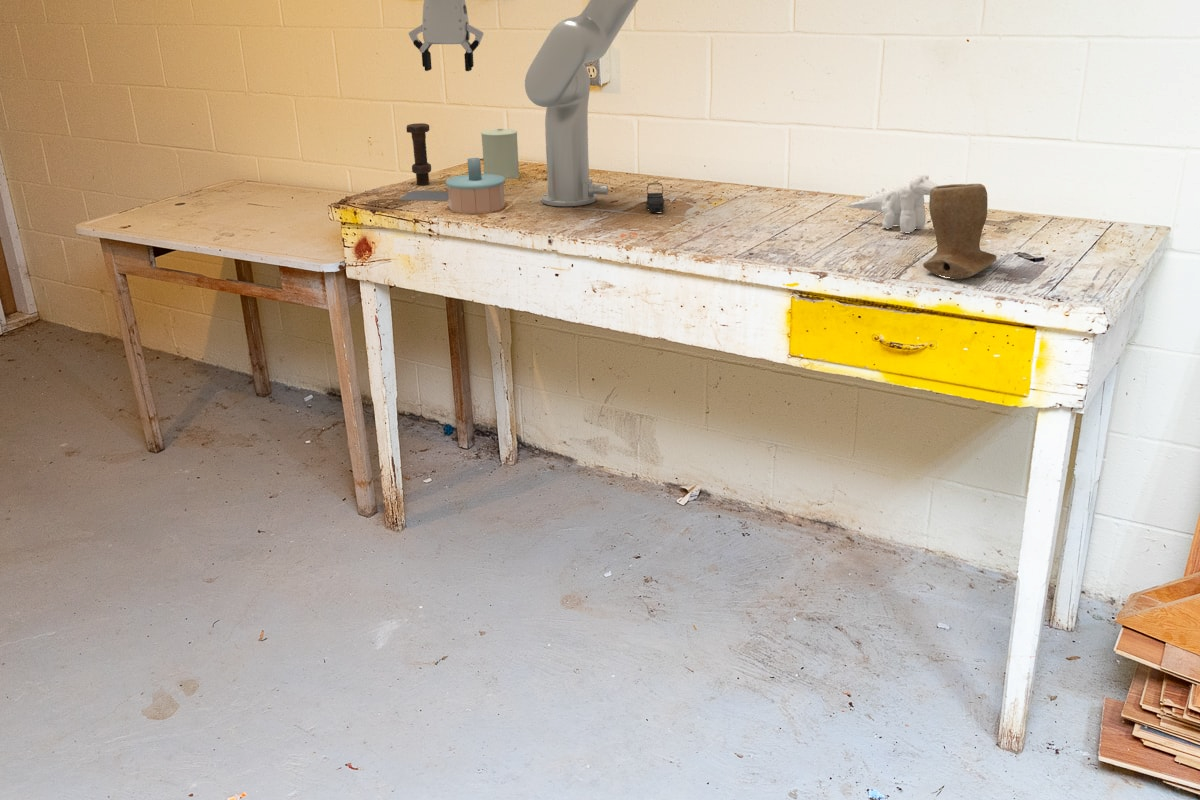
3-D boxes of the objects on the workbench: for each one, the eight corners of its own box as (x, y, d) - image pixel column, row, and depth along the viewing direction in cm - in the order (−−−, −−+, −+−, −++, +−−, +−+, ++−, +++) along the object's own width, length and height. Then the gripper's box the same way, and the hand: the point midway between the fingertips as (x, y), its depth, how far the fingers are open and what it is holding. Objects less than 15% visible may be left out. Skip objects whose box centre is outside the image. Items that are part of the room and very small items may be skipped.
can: (520, 173, 272) (517, 126, 268) (519, 180, 264) (517, 132, 259) (484, 174, 272) (481, 127, 267) (483, 181, 263) (479, 133, 259)
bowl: (509, 204, 239) (508, 177, 237) (495, 216, 228) (494, 189, 226) (459, 203, 241) (457, 177, 239) (443, 215, 230) (441, 188, 228)
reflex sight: (646, 215, 227) (646, 192, 225) (645, 205, 236) (645, 182, 234) (664, 215, 226) (664, 192, 224) (663, 204, 236) (663, 182, 234)
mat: (459, 193, 251) (459, 191, 250) (447, 203, 242) (446, 200, 241) (412, 193, 253) (412, 190, 253) (397, 202, 244) (397, 199, 244)
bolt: (431, 188, 257) (425, 126, 251) (411, 189, 257) (405, 126, 252) (435, 183, 263) (430, 122, 257) (415, 184, 263) (409, 123, 257)
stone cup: (937, 255, 192) (946, 173, 186) (1003, 265, 185) (1014, 180, 179) (903, 274, 181) (911, 188, 175) (971, 286, 174) (982, 196, 168)
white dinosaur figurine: (943, 237, 199) (944, 179, 196) (835, 230, 216) (834, 176, 212) (961, 230, 204) (961, 173, 200) (853, 224, 220) (853, 171, 217)
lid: (511, 177, 237) (509, 153, 235) (496, 189, 225) (494, 164, 223) (456, 176, 239) (454, 153, 237) (438, 188, 228) (436, 164, 225)
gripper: (484, -10, 237) (488, 69, 244) (411, -10, 239) (417, 68, 246) (476, -9, 230) (480, 72, 237) (400, -9, 232) (407, 72, 239)
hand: (448, 70), depth 241 cm, fingers open, 9 cm apart
